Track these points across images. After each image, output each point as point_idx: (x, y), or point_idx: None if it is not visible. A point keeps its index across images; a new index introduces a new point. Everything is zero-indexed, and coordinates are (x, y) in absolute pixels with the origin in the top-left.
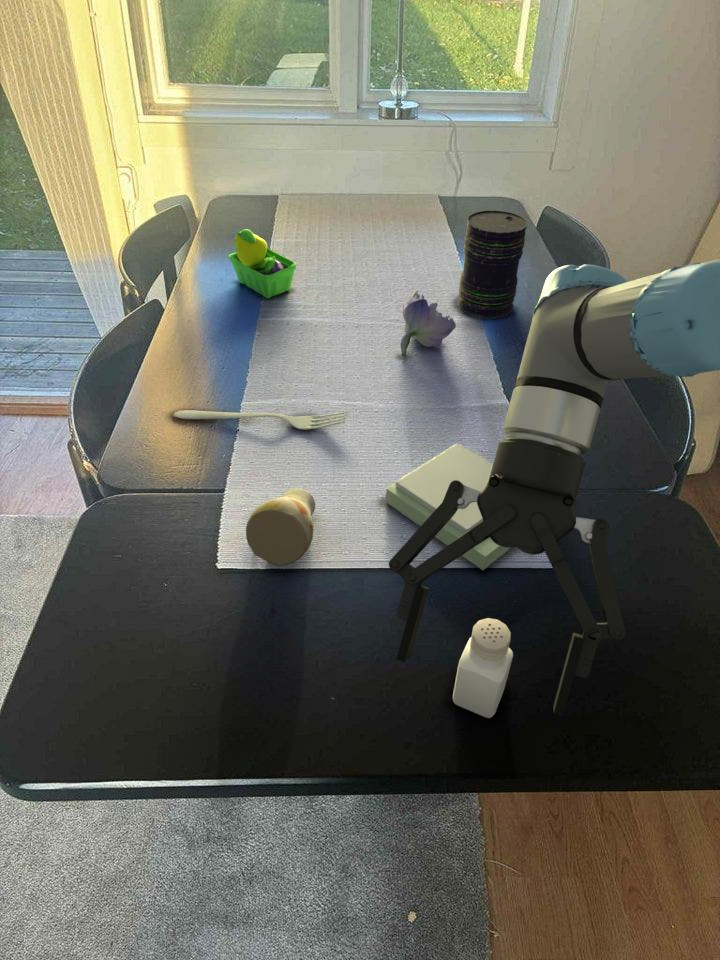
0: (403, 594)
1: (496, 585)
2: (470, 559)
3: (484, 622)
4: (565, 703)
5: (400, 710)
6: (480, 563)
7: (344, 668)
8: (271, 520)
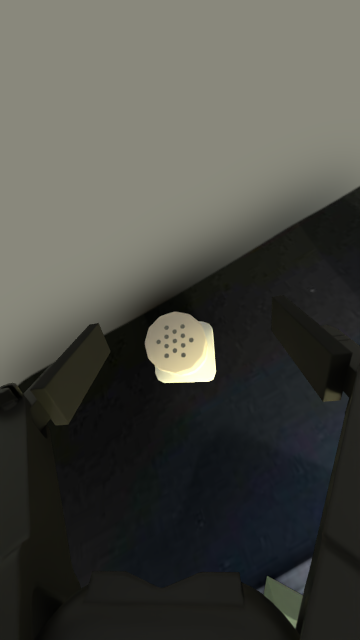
0: (358, 348)
1: (235, 547)
2: (296, 595)
3: (193, 355)
4: (83, 331)
5: (249, 311)
6: (277, 590)
7: (326, 323)
8: None
